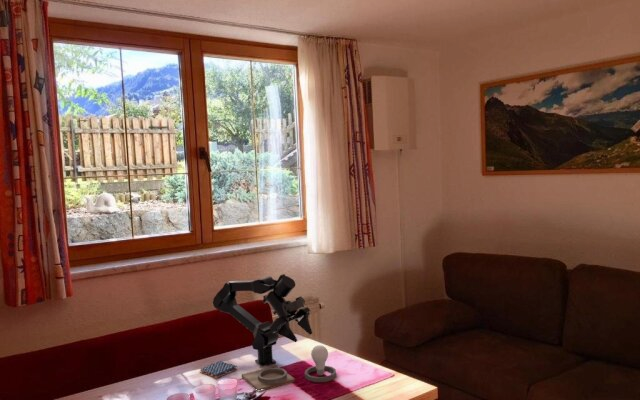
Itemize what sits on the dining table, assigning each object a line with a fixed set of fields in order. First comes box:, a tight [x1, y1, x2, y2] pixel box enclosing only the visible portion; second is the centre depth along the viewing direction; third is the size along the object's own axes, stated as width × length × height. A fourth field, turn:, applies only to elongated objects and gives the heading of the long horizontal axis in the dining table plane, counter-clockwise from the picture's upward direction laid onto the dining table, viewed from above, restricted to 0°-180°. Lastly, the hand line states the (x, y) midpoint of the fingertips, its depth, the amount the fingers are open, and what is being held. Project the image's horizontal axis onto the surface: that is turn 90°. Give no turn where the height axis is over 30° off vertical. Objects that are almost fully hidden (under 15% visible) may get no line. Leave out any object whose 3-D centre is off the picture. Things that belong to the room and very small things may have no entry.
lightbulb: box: [310, 344, 329, 377], centre depth 179 cm, size 6×6×11 cm
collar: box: [304, 365, 337, 383], centre depth 180 cm, size 11×11×2 cm
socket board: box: [241, 365, 296, 391], centre depth 178 cm, size 15×14×2 cm
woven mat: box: [199, 360, 238, 379], centre depth 188 cm, size 10×11×2 cm
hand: (304, 337), depth 183 cm, fingers open, 9 cm apart
